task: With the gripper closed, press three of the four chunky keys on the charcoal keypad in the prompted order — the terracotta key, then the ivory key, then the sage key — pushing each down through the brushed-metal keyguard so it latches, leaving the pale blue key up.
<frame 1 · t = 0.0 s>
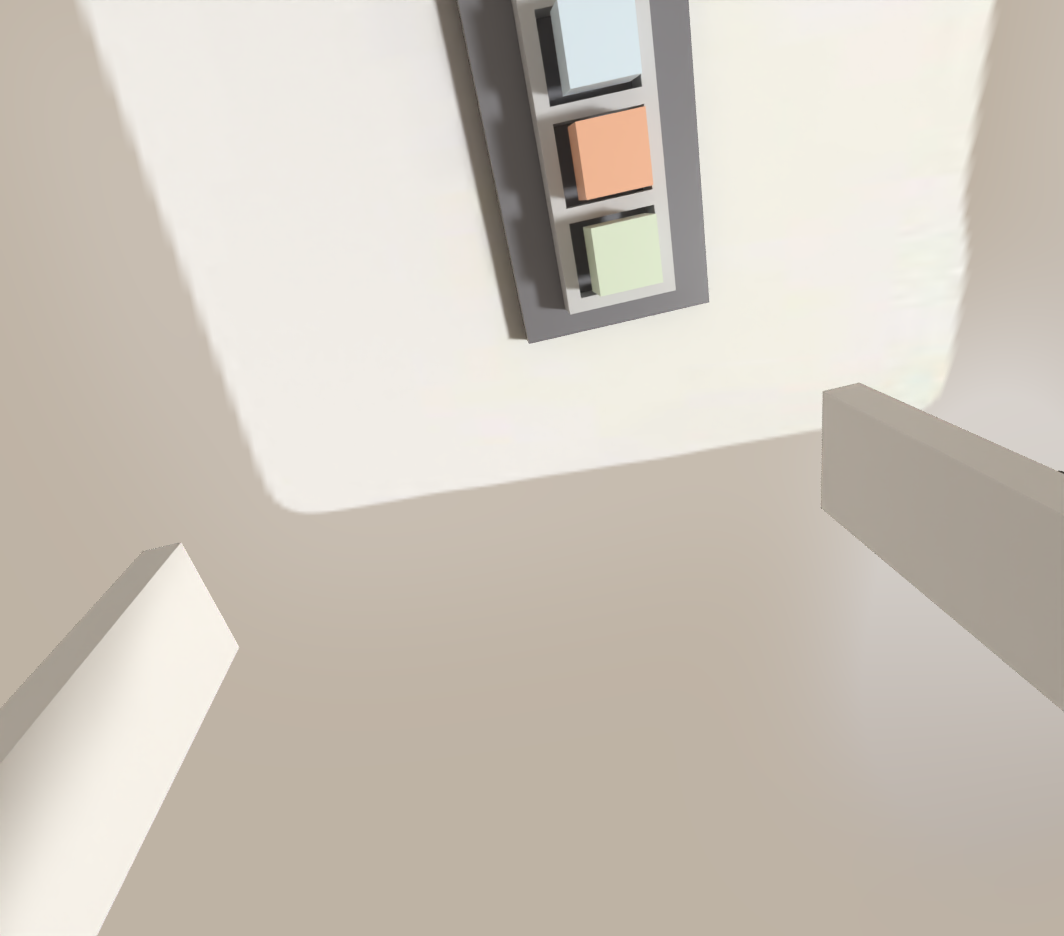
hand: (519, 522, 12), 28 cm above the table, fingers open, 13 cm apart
key terracotta: (610, 155, 31), point 4 cm above the table, slide at 0.0 cm
key sage: (622, 254, 33), point 4 cm above the table, slide at 0.0 cm
keypad: (586, 113, 34), on the table
key blue: (595, 42, 28), point 4 cm above the table, slide at 0.0 cm
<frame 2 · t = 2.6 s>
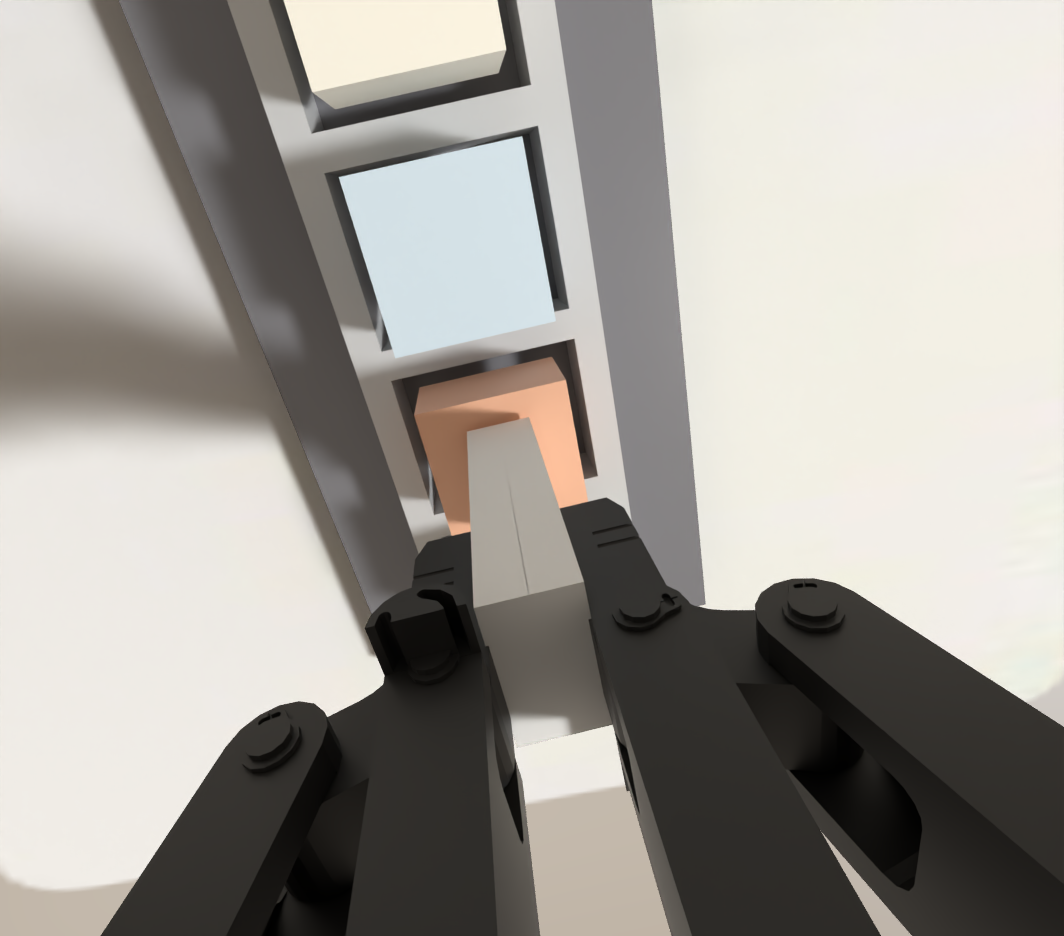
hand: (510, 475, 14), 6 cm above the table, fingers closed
key terracotta: (503, 448, 15), point 4 cm above the table, slide at 0.2 cm, touching gripper
keypad: (475, 323, 18), on the table
key blue: (454, 249, 13), point 4 cm above the table, slide at 0.0 cm
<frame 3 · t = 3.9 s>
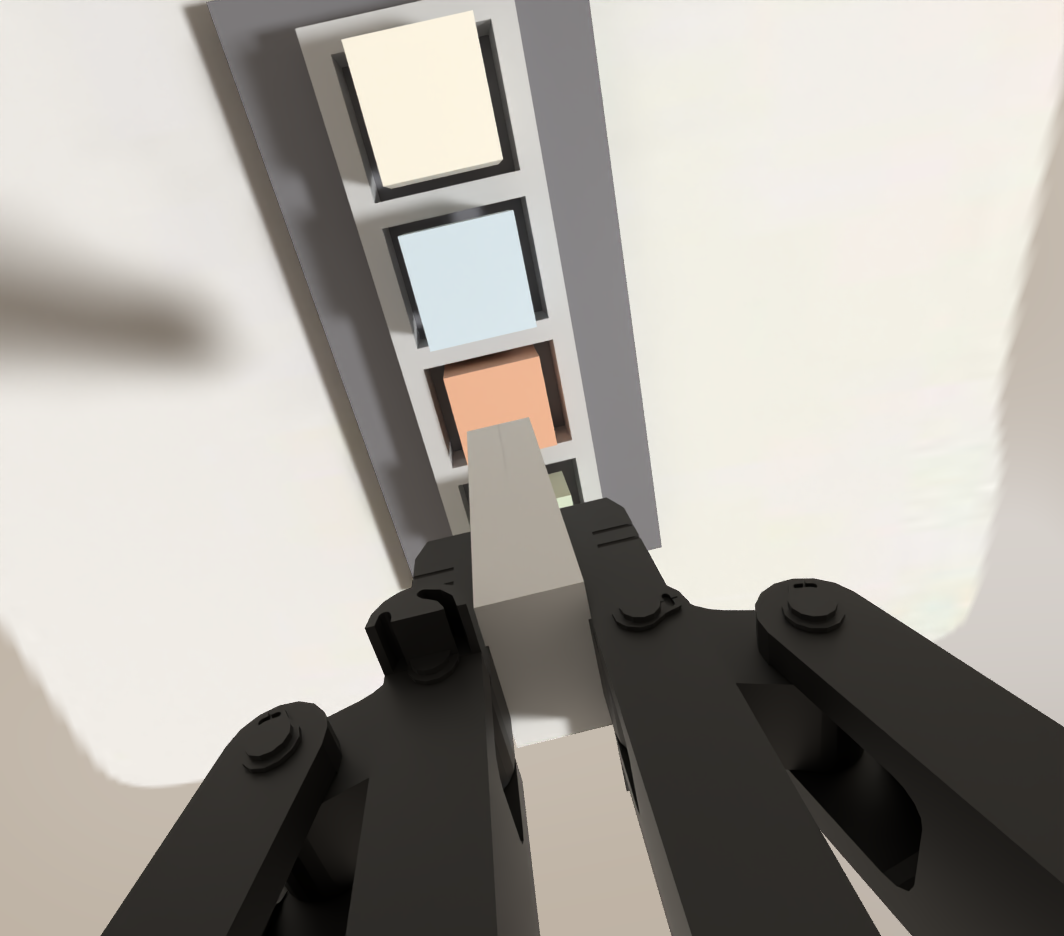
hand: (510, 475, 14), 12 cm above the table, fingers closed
key terracotta: (500, 404, 23), point 3 cm above the table, slide at 1.7 cm
key sage: (530, 531, 24), point 4 cm above the table, slide at 0.0 cm
keypad: (482, 329, 24), on the table
key blue: (469, 279, 19), point 4 cm above the table, slide at 0.0 cm
key ivory: (428, 108, 17), point 4 cm above the table, slide at 0.0 cm
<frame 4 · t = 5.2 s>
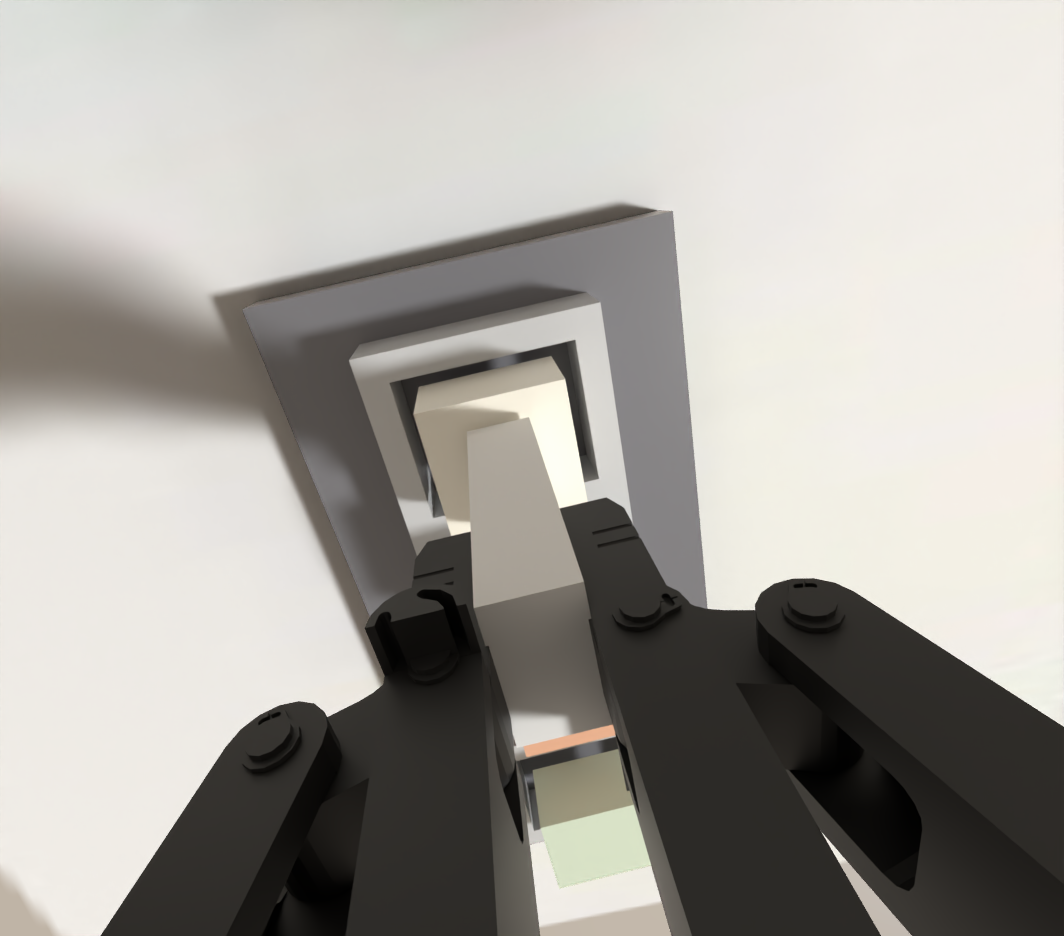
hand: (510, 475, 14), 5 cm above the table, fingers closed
key terracotta: (562, 684, 21), point 3 cm above the table, slide at 1.7 cm
key sage: (593, 816, 21), point 4 cm above the table, slide at 0.0 cm
keypad: (538, 583, 22), on the table
key ivory: (503, 447, 15), point 4 cm above the table, slide at 0.4 cm, touching gripper
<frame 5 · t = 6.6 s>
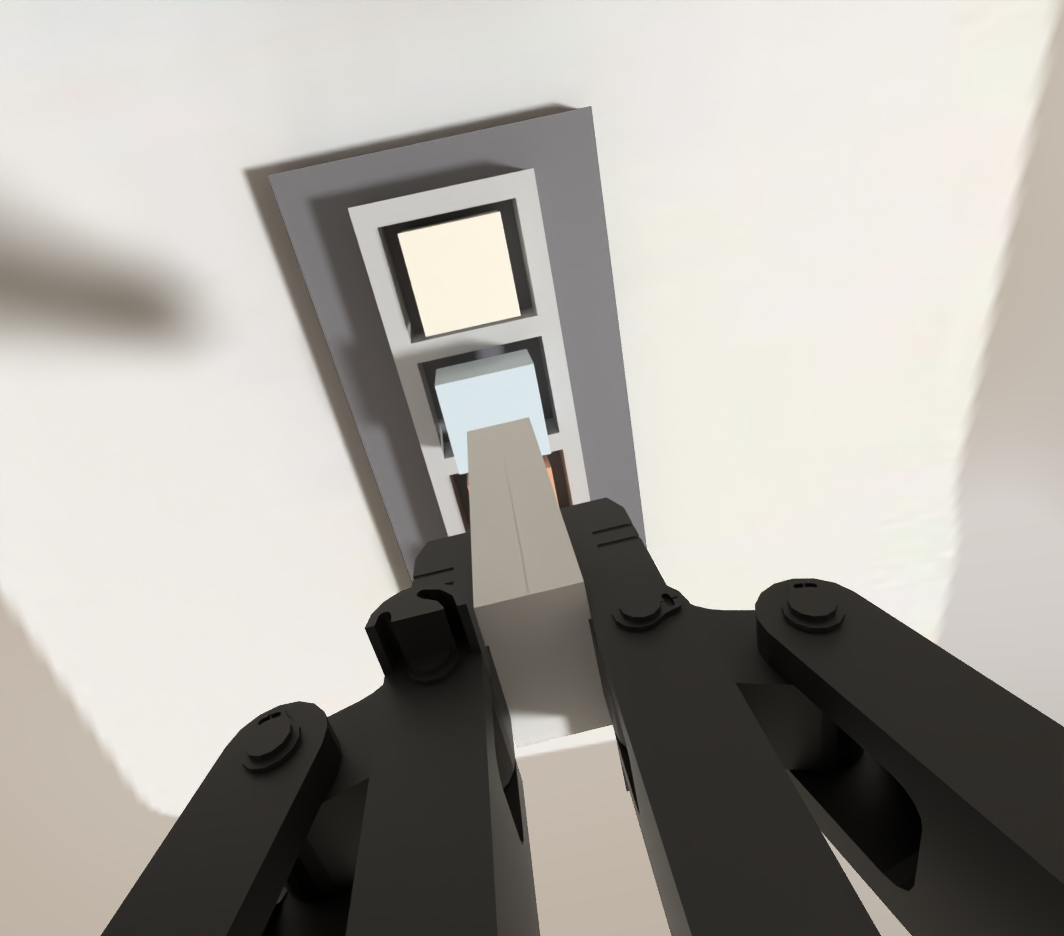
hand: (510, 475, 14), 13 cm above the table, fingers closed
key terracotta: (515, 500, 26), point 3 cm above the table, slide at 1.7 cm
keypad: (499, 428, 27), on the table
key blue: (493, 411, 22), point 4 cm above the table, slide at 0.0 cm
key ivory: (461, 272, 22), point 3 cm above the table, slide at 1.7 cm
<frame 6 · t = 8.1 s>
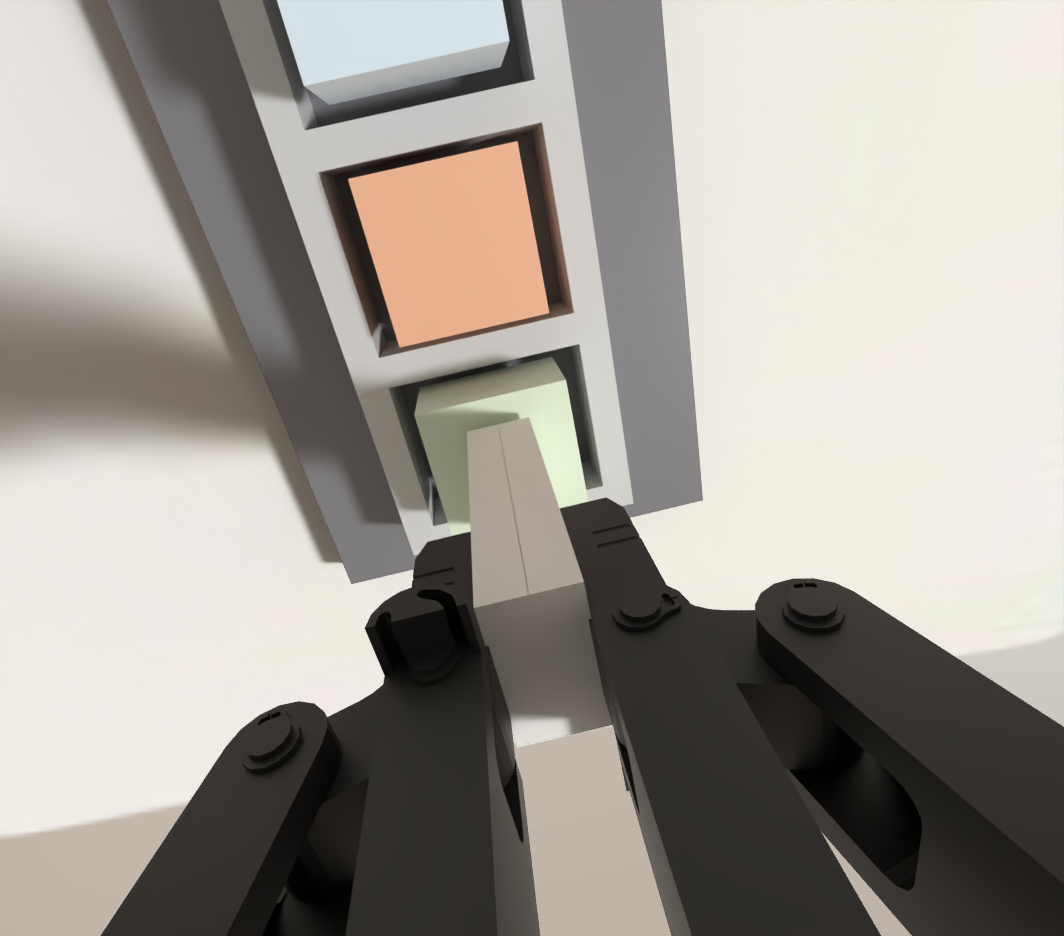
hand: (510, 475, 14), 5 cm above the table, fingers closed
key terracotta: (455, 246, 14), point 3 cm above the table, slide at 1.7 cm
key sage: (503, 448, 15), point 4 cm above the table, slide at 0.8 cm, touching gripper
keypad: (430, 139, 15), on the table
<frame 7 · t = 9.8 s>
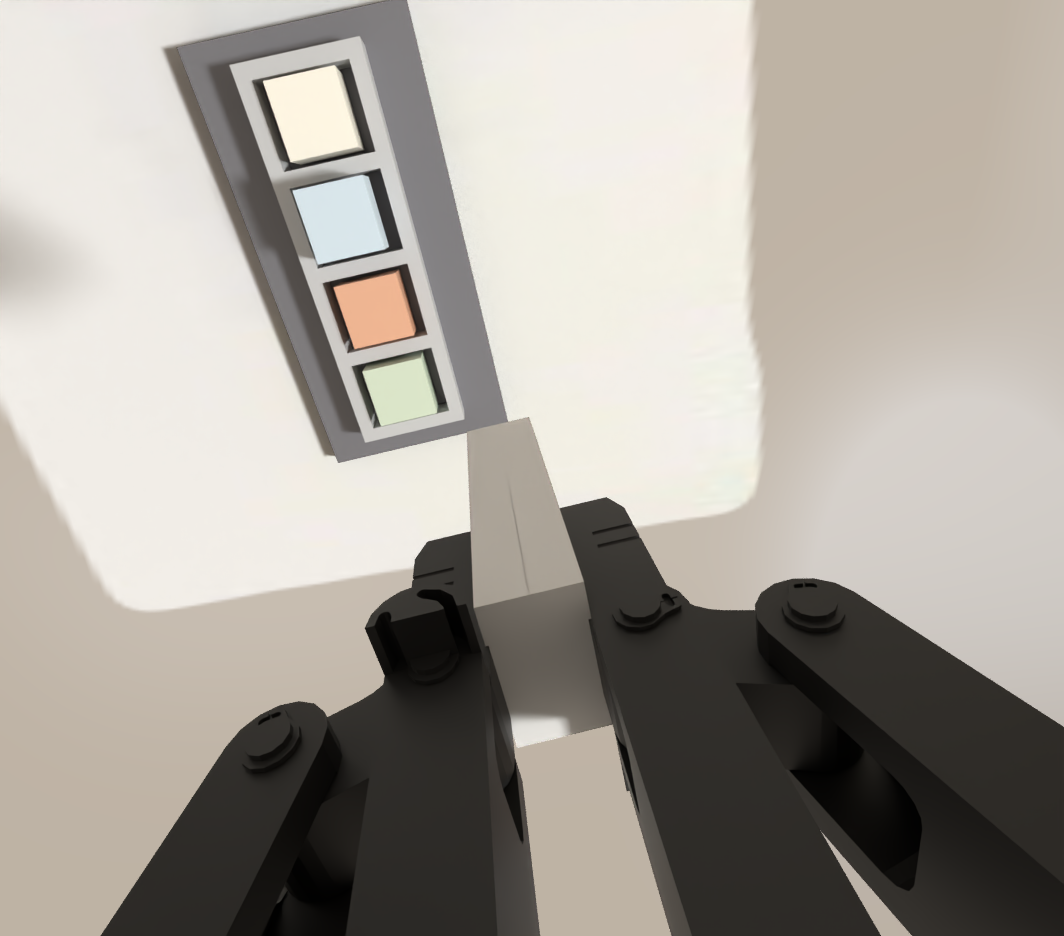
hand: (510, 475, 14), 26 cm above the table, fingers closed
key terracotta: (377, 308, 35), point 3 cm above the table, slide at 1.7 cm
key sage: (402, 387, 37), point 3 cm above the table, slide at 1.7 cm
keypad: (369, 261, 36), on the table
key blue: (343, 220, 31), point 4 cm above the table, slide at 0.0 cm
key ivory: (316, 117, 30), point 3 cm above the table, slide at 1.7 cm
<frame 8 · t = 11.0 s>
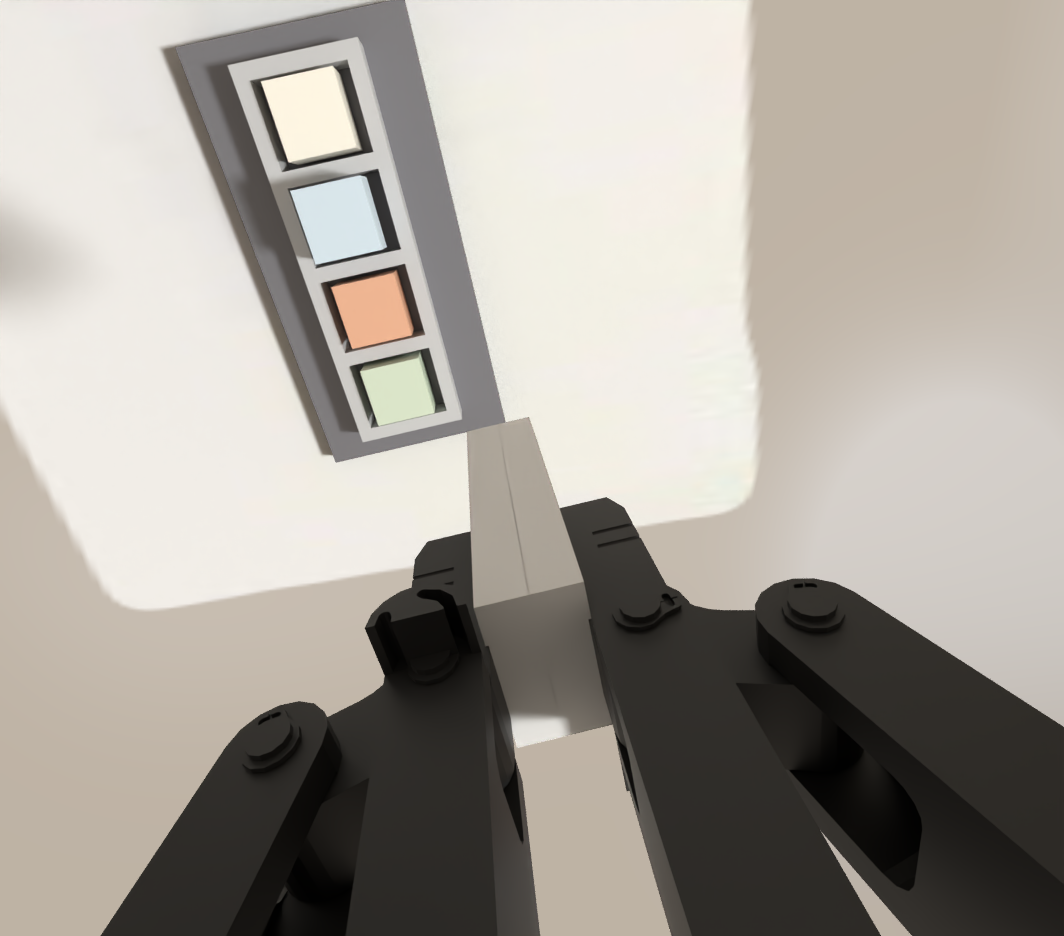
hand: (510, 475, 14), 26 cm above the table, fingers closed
key terracotta: (374, 308, 35), point 3 cm above the table, slide at 1.7 cm
key sage: (399, 387, 37), point 3 cm above the table, slide at 1.7 cm
keypad: (367, 261, 36), on the table
key blue: (341, 220, 31), point 4 cm above the table, slide at 0.0 cm
key ivory: (314, 118, 30), point 3 cm above the table, slide at 1.7 cm
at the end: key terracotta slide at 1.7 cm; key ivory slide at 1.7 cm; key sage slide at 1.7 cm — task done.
